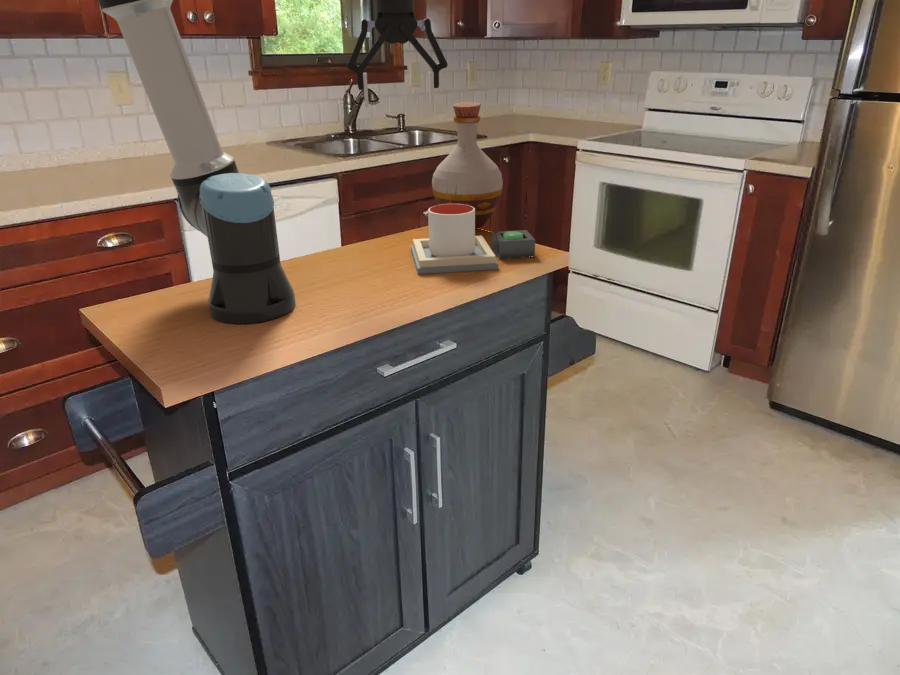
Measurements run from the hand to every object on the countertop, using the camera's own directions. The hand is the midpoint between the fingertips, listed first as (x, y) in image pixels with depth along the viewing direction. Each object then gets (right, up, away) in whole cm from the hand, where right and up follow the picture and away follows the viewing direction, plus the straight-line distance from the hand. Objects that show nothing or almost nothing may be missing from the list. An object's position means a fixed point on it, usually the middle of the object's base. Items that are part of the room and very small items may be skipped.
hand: (399, 106), depth 139 cm
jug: (+15, -19, +34) cm, 42 cm away
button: (+25, -28, +10) cm, 39 cm away
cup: (+11, -30, +7) cm, 33 cm away
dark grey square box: (+25, -29, +11) cm, 40 cm away
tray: (+11, -31, +7) cm, 34 cm away
